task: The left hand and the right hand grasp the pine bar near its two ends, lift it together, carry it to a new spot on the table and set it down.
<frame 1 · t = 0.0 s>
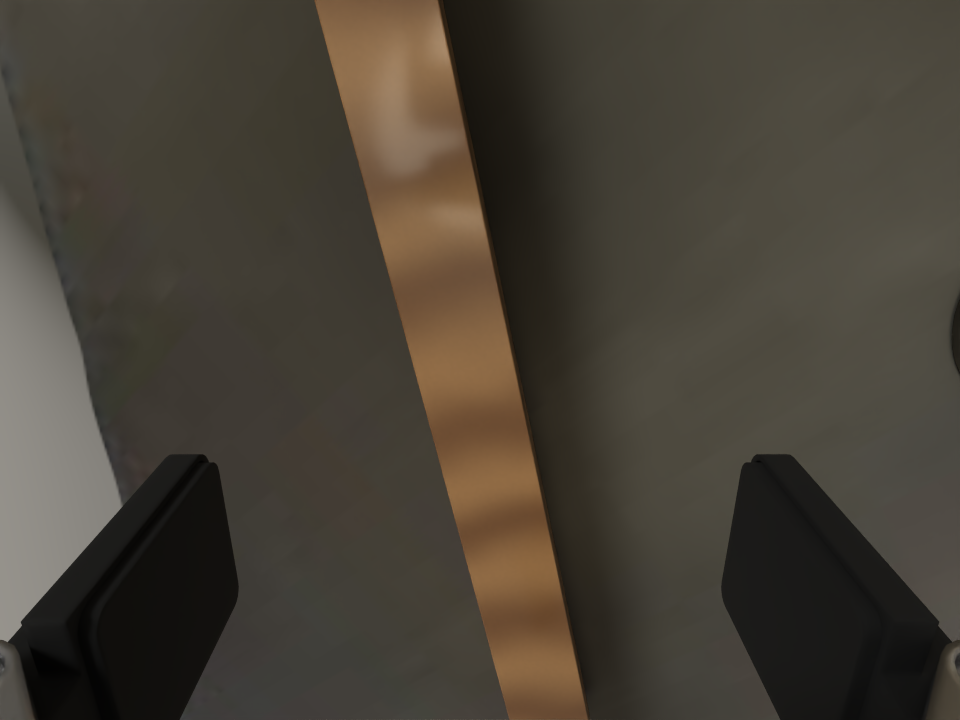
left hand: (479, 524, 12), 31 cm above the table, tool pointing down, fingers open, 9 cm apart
bar: (478, 368, 44), on the table
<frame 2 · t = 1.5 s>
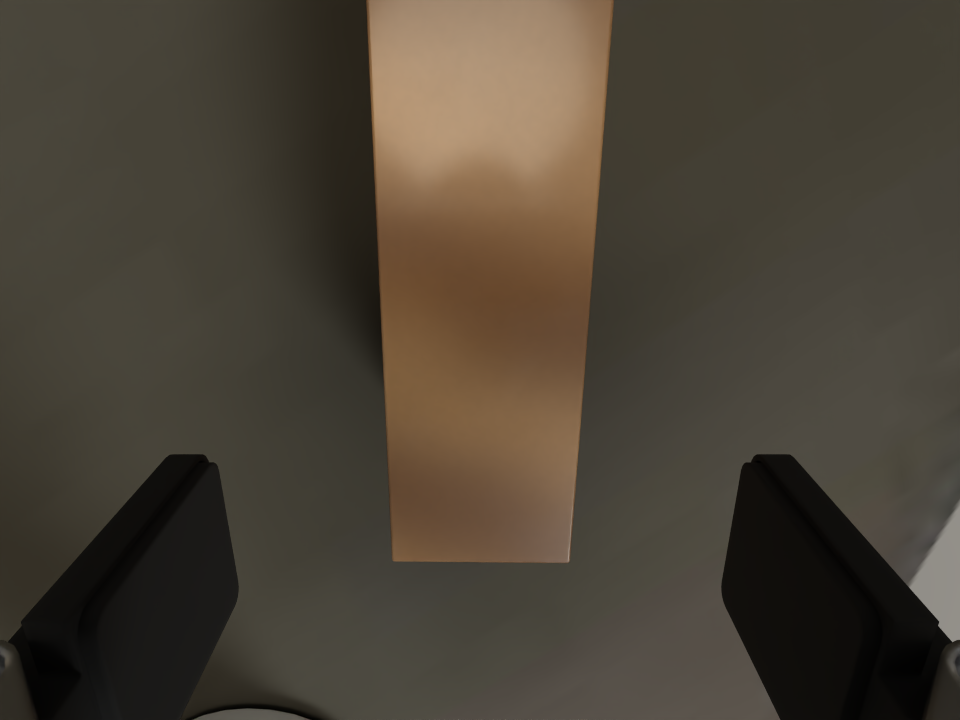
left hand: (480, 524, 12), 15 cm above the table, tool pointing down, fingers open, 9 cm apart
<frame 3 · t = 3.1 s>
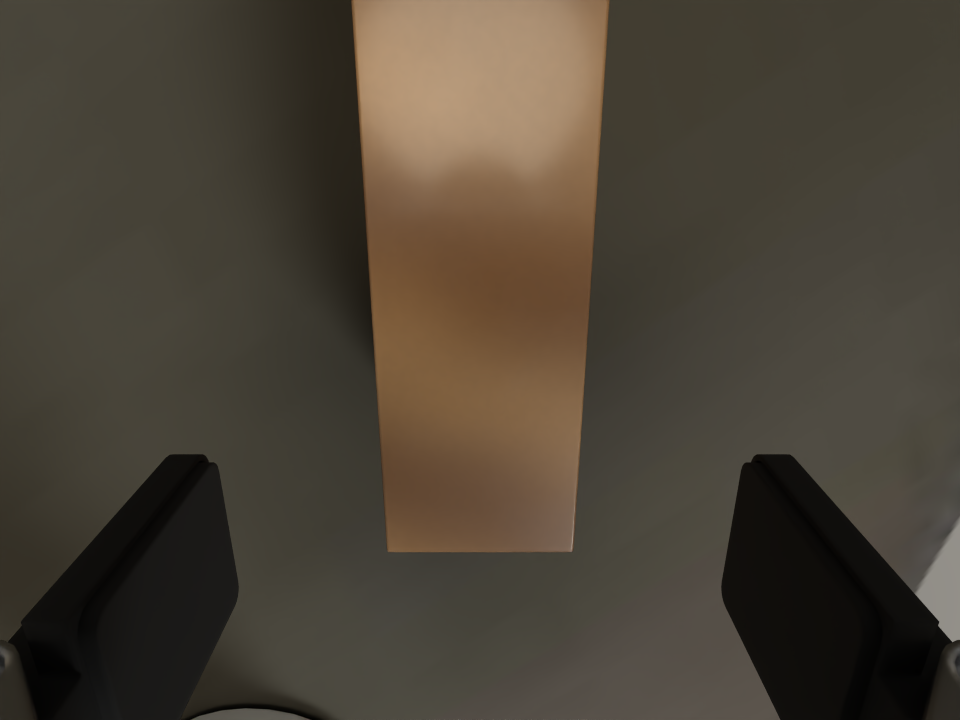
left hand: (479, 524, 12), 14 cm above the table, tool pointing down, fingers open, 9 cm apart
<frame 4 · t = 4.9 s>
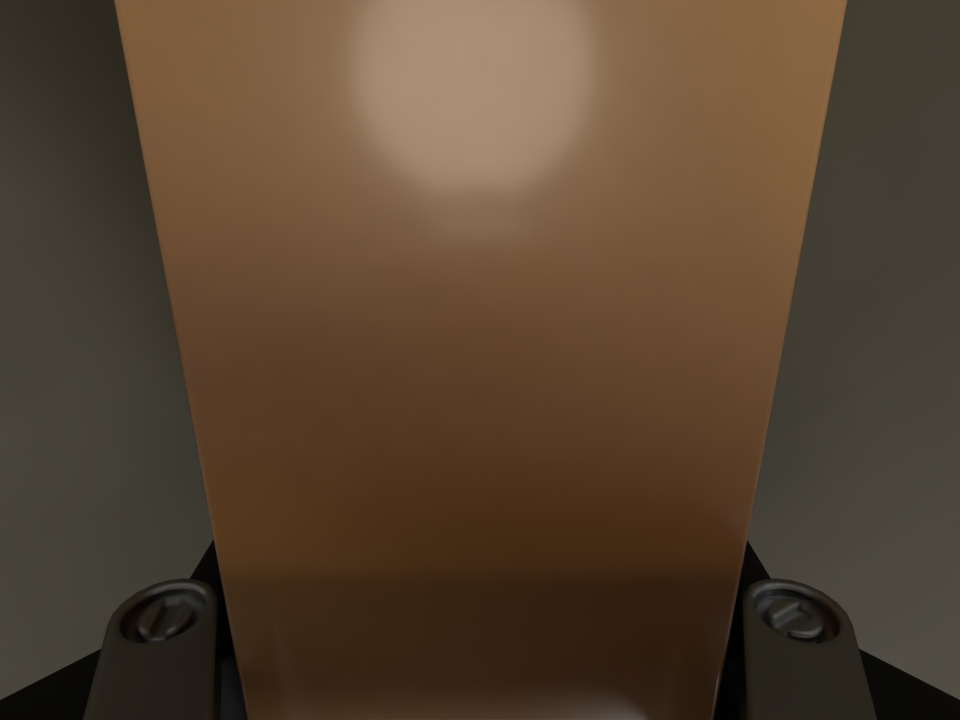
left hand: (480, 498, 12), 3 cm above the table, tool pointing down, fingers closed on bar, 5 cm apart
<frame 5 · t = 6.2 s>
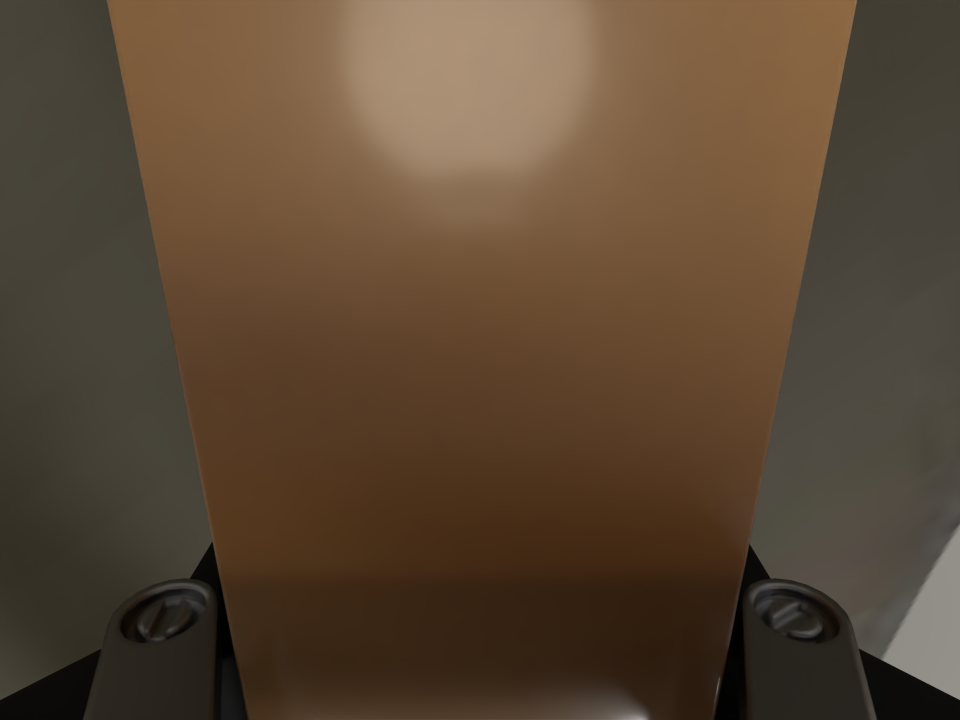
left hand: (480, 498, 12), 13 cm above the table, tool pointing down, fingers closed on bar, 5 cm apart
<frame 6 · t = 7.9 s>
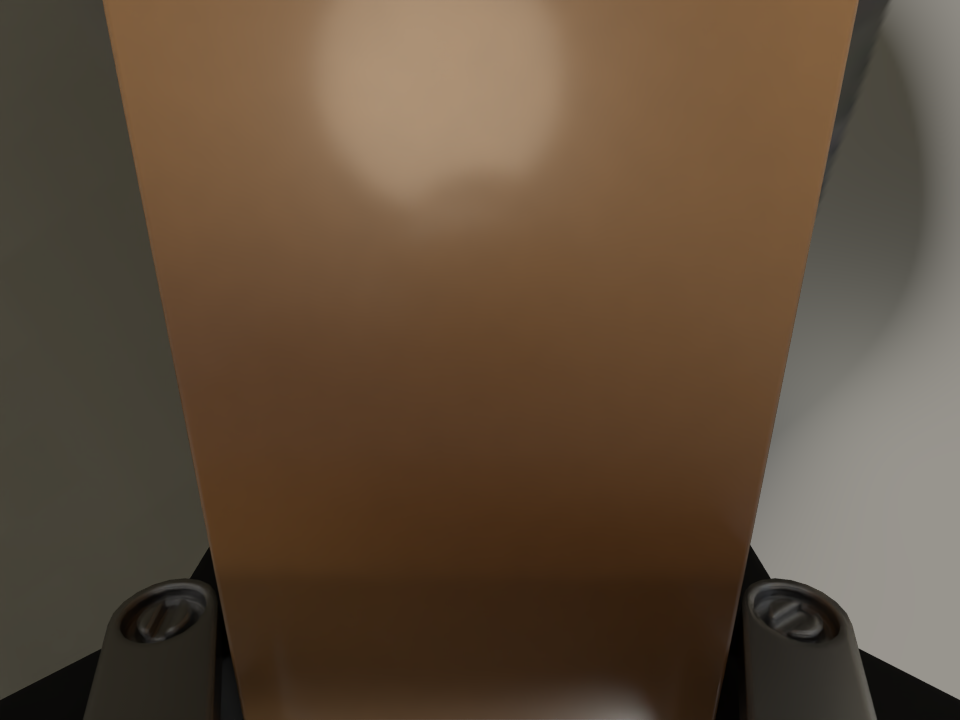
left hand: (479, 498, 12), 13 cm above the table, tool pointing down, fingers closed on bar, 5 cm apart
when the right hand's fingers open (1 cm above the table, at t = 9.5 s): bar stays where it is, on the table.
when the left hand's fingers open (4 cm above the table, at t = 9.6 s): bar stays where it is, on the table.
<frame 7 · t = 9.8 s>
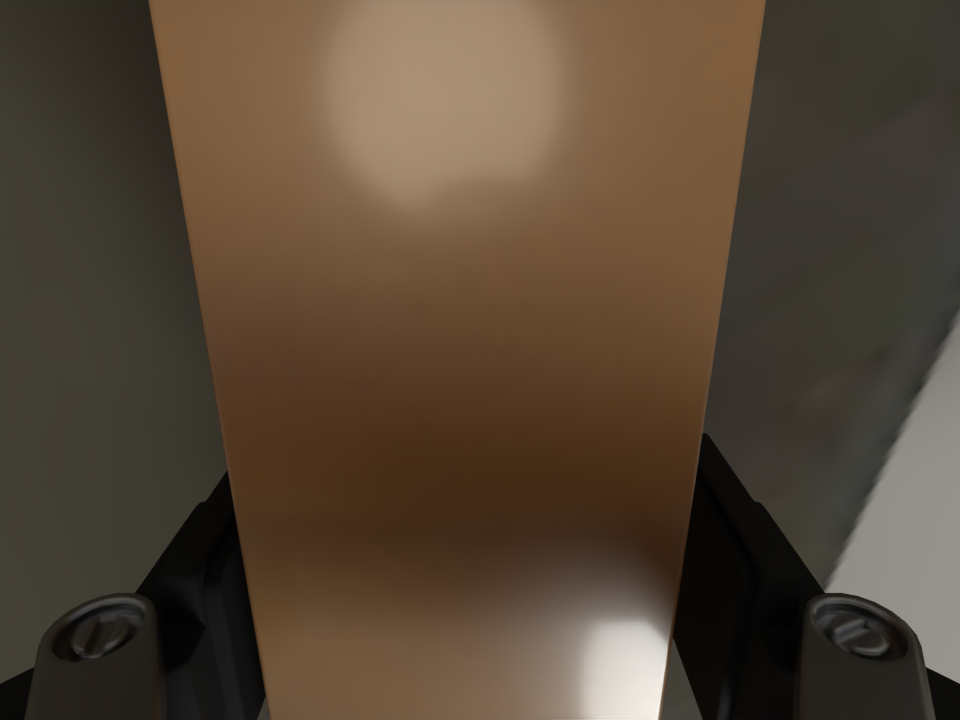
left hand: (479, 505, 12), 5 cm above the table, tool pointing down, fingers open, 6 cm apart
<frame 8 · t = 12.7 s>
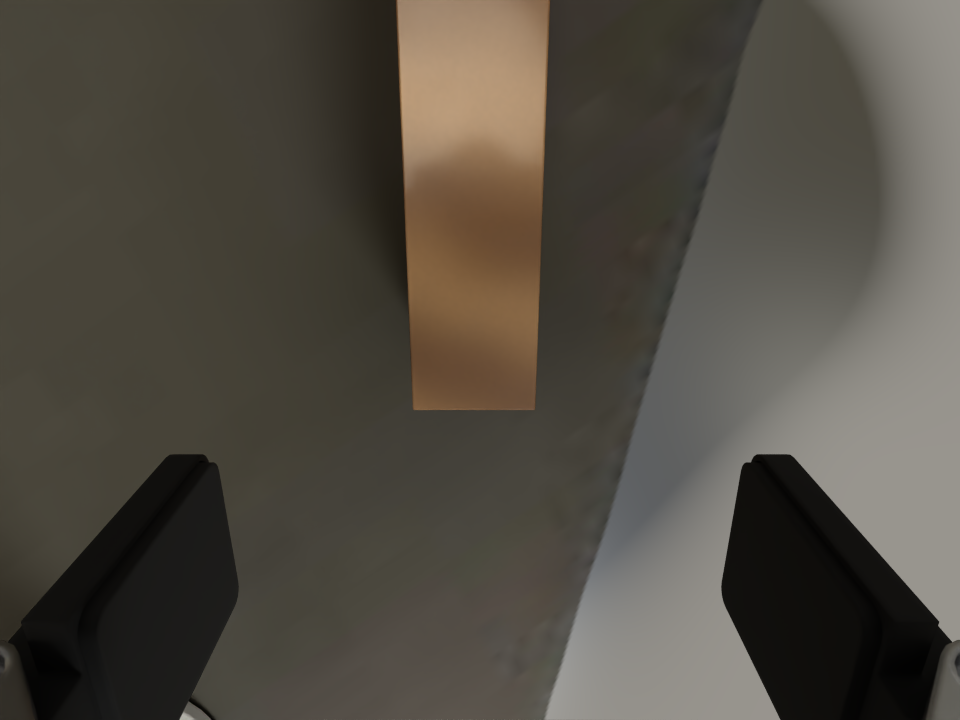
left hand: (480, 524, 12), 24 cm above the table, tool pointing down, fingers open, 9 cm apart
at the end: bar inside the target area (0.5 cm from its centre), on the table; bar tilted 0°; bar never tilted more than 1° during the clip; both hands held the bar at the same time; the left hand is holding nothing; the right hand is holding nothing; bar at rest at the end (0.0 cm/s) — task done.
